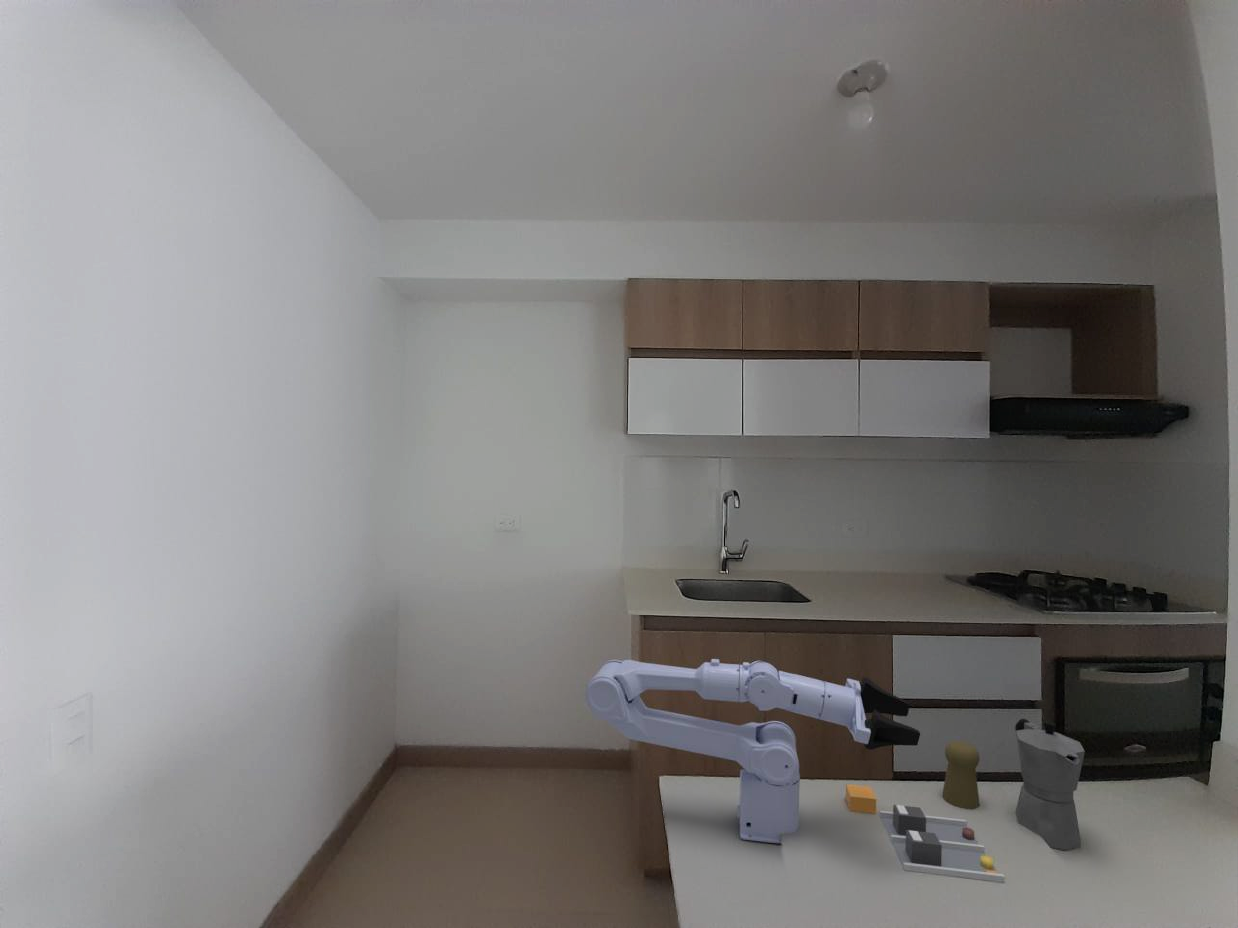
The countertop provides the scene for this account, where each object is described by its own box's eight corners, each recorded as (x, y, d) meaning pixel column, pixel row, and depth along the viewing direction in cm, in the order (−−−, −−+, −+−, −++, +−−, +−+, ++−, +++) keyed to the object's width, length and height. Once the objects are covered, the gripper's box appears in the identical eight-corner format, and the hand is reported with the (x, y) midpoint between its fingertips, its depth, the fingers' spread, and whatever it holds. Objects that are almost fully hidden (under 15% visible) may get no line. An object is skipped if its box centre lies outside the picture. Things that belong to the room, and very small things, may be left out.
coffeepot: (1106, 861, 95) (1109, 741, 95) (1040, 857, 95) (1043, 738, 95) (1043, 805, 110) (1046, 702, 110) (987, 802, 111) (990, 699, 111)
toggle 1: (898, 834, 98) (898, 813, 98) (892, 823, 101) (893, 803, 101) (925, 837, 97) (926, 816, 97) (919, 826, 100) (920, 806, 100)
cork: (986, 820, 105) (988, 754, 105) (946, 815, 106) (948, 750, 106) (973, 801, 111) (975, 739, 111) (936, 797, 112) (937, 735, 112)
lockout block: (850, 820, 104) (850, 796, 104) (845, 807, 108) (845, 784, 108) (875, 823, 103) (876, 798, 103) (869, 810, 107) (870, 786, 107)
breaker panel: (903, 880, 89) (904, 862, 89) (879, 824, 103) (880, 809, 103) (1004, 893, 87) (1004, 874, 87) (965, 834, 101) (966, 818, 101)
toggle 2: (911, 862, 91) (911, 840, 91) (905, 849, 94) (905, 828, 94) (941, 866, 90) (941, 844, 90) (934, 853, 93) (934, 831, 93)
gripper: (830, 702, 91) (930, 727, 89) (823, 655, 105) (910, 675, 102) (820, 744, 93) (918, 771, 90) (814, 692, 107) (899, 714, 104)
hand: (913, 723), depth 96 cm, fingers open, 7 cm apart
